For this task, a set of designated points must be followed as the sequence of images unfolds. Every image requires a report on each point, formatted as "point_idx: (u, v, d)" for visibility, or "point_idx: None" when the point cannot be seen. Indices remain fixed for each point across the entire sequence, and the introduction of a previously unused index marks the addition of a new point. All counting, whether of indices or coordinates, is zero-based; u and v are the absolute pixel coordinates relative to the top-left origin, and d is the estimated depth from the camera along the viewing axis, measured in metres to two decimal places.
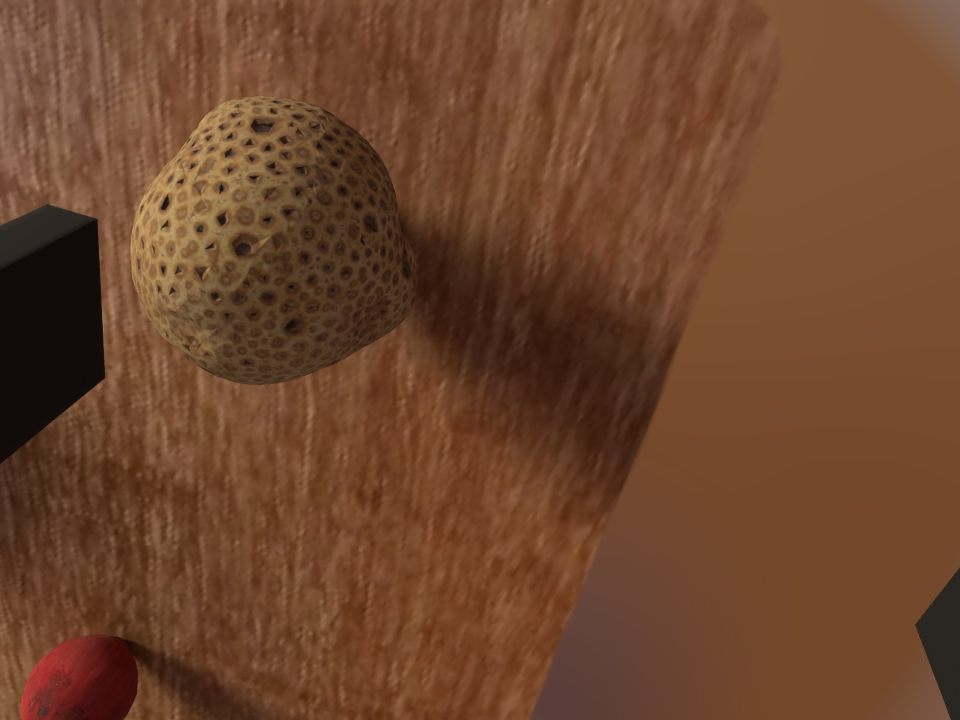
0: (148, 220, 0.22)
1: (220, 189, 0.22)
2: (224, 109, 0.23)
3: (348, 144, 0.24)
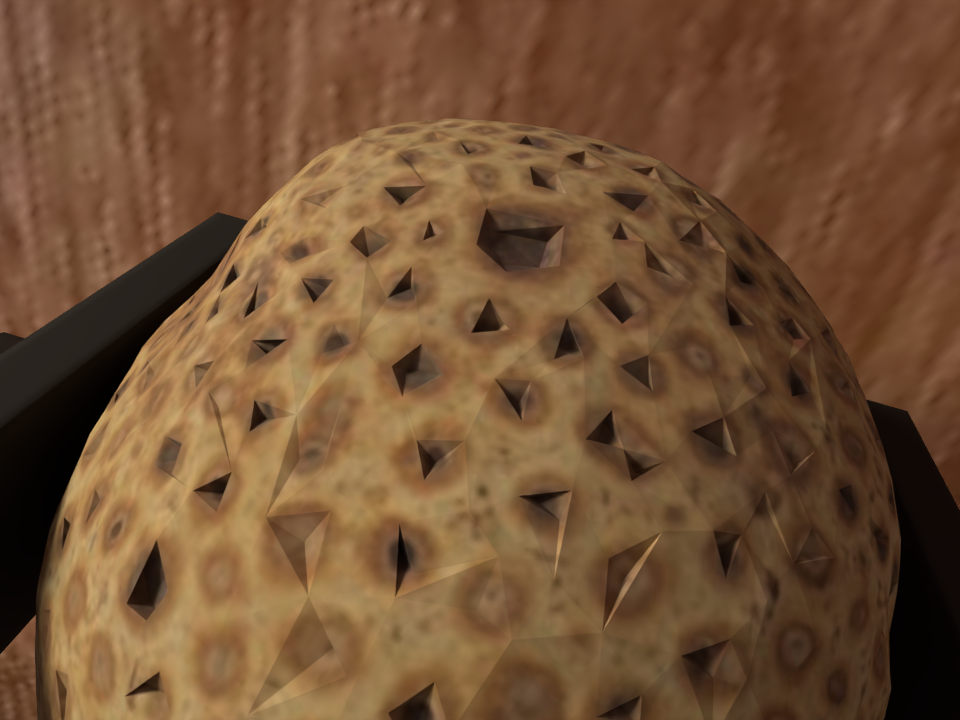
0: (80, 620, 0.06)
1: (397, 558, 0.05)
2: (358, 169, 0.07)
3: (780, 289, 0.07)
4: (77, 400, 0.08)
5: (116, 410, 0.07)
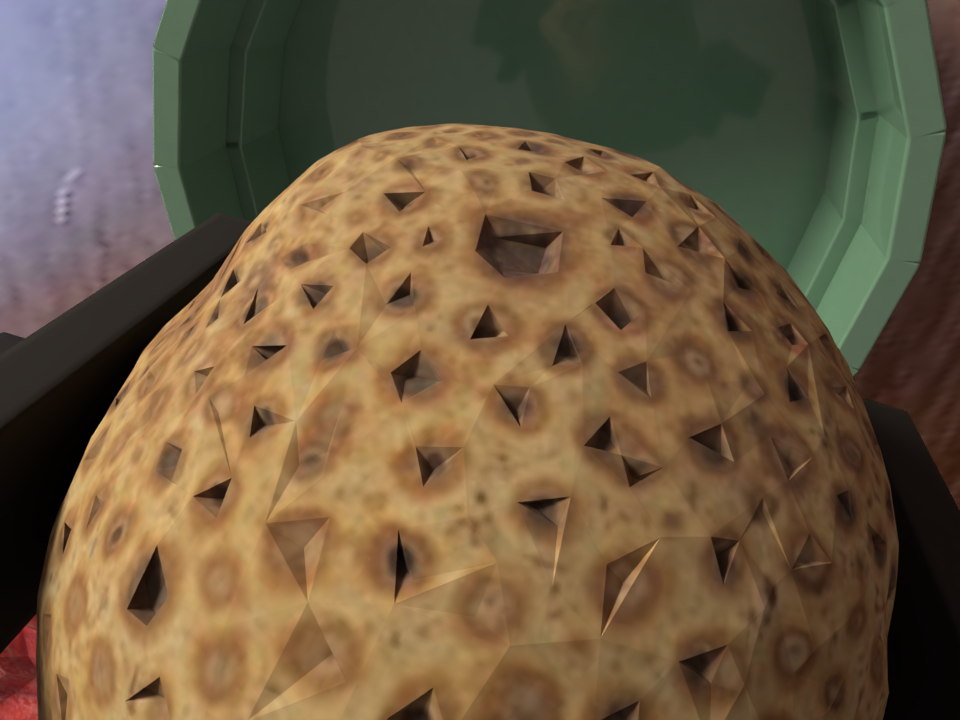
0: (81, 626, 0.06)
1: (396, 563, 0.05)
2: (358, 175, 0.07)
3: (778, 293, 0.07)
4: (77, 400, 0.08)
5: (117, 415, 0.07)
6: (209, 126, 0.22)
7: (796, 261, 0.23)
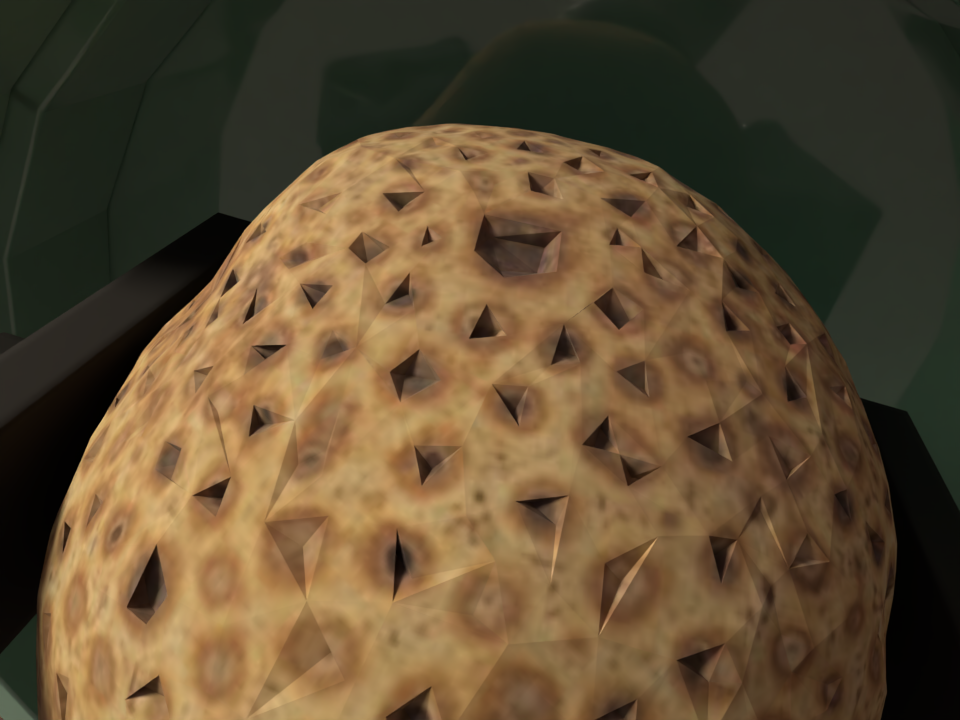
0: (80, 624, 0.06)
1: (393, 562, 0.05)
2: (357, 175, 0.07)
3: (776, 292, 0.07)
4: (77, 400, 0.08)
5: (116, 414, 0.07)
6: None
7: None
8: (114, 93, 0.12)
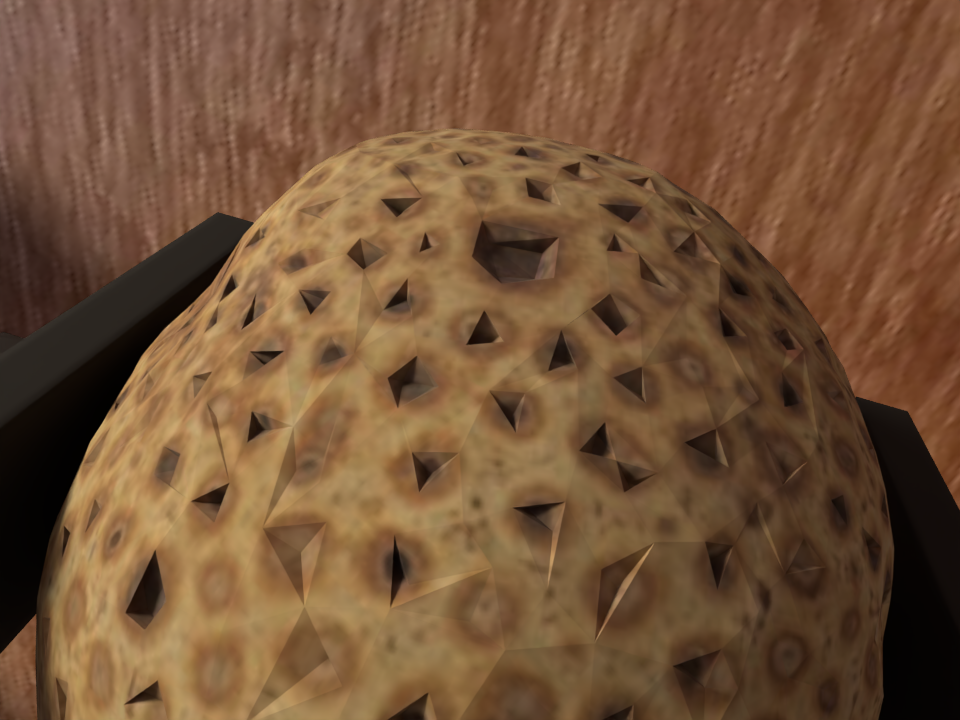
0: (79, 628, 0.06)
1: (392, 568, 0.05)
2: (355, 181, 0.07)
3: (773, 299, 0.07)
4: (77, 400, 0.08)
5: (116, 419, 0.07)
6: None
7: None
8: None
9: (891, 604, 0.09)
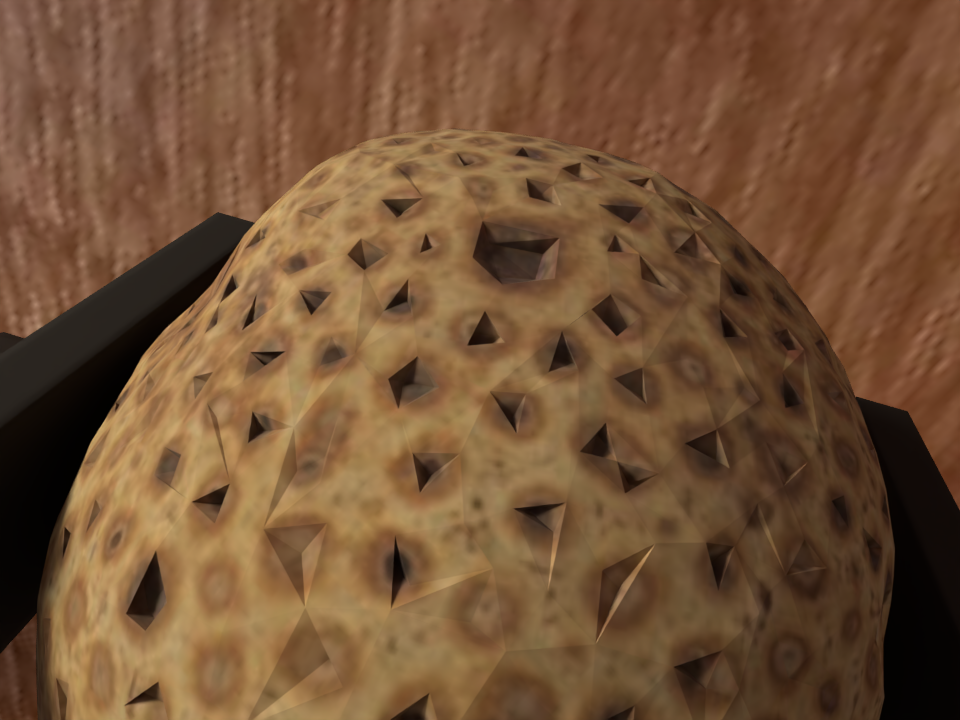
0: (80, 631, 0.06)
1: (394, 570, 0.05)
2: (356, 181, 0.07)
3: (775, 299, 0.07)
4: (77, 400, 0.08)
5: (116, 420, 0.07)
6: None
7: None
8: None
9: (891, 604, 0.09)
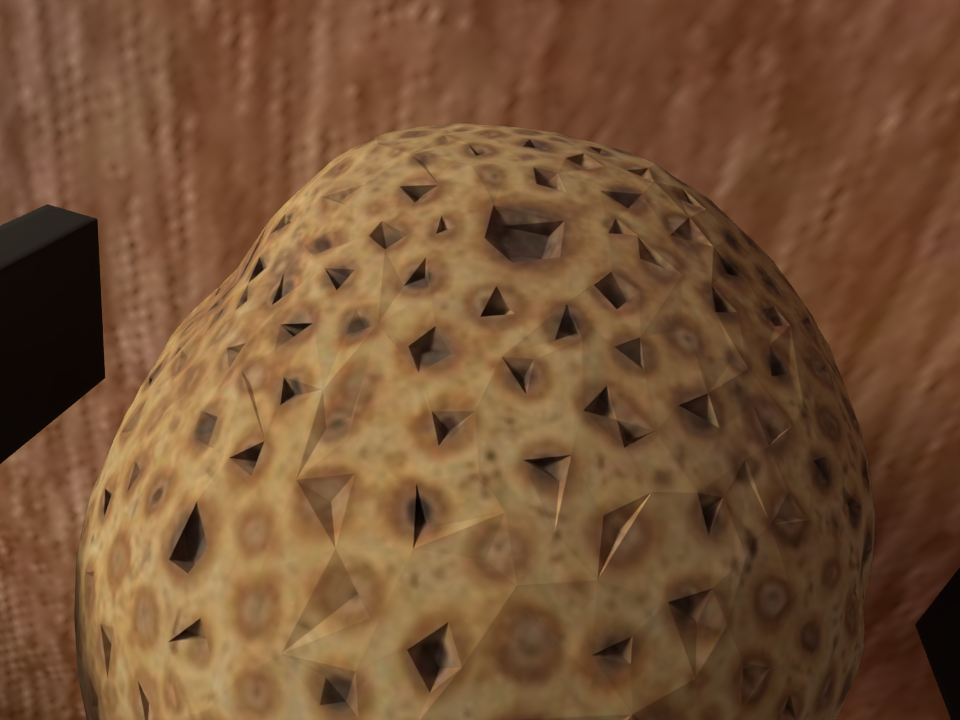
0: (124, 578, 0.06)
1: (415, 513, 0.05)
2: (376, 170, 0.07)
3: (764, 281, 0.07)
4: None
5: (152, 391, 0.07)
6: None
7: None
8: None
9: None
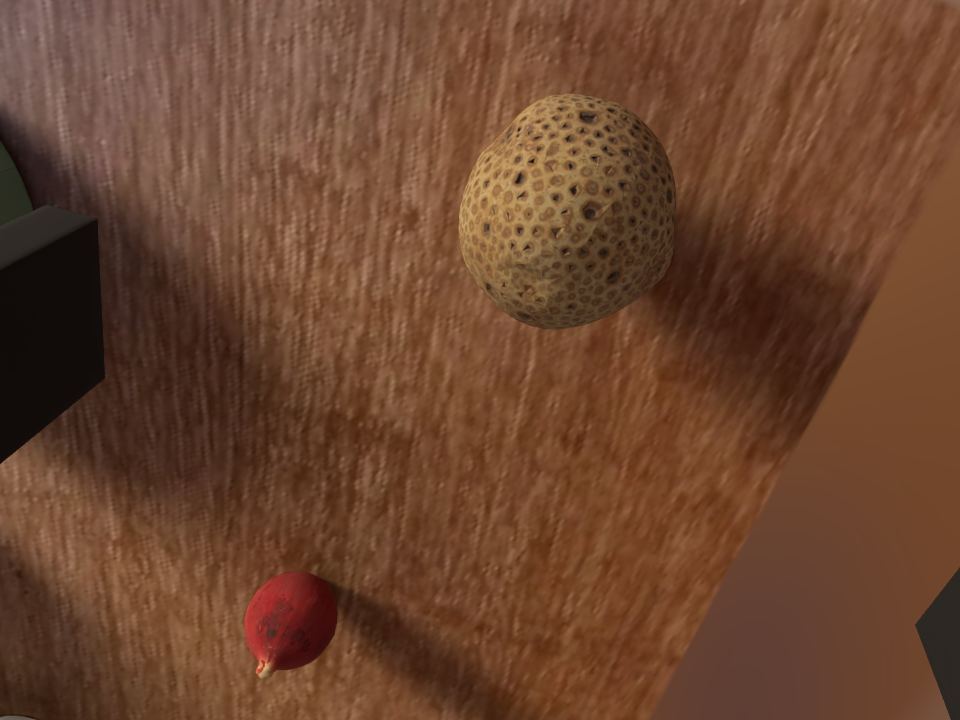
0: (500, 192, 0.28)
1: (569, 166, 0.27)
2: (549, 104, 0.29)
3: (646, 133, 0.29)
4: None
5: (492, 160, 0.29)
6: None
7: None
8: None
9: None
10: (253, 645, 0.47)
